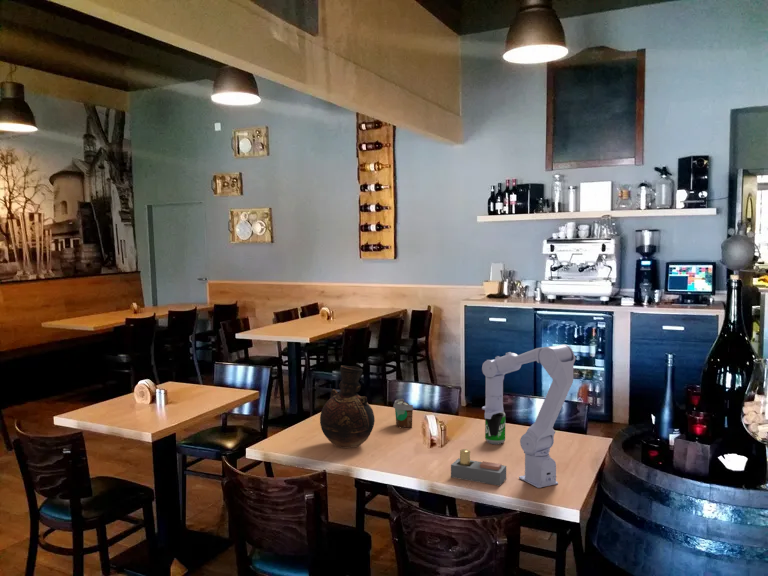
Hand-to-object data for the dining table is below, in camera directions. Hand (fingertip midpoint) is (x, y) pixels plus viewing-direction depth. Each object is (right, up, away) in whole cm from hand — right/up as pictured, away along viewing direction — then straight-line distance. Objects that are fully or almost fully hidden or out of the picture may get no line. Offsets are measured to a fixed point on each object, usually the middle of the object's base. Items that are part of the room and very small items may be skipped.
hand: (493, 435), depth 202 cm
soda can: (+5, -9, +26) cm, 28 cm away
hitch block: (-7, -11, -10) cm, 17 cm away
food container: (-30, -8, +48) cm, 57 cm away
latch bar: (-3, -7, -13) cm, 15 cm away
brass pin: (-11, -11, -8) cm, 18 cm away
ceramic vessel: (-51, -10, +23) cm, 56 cm away
